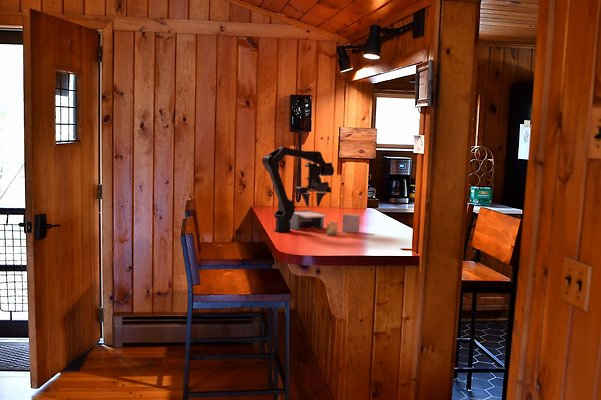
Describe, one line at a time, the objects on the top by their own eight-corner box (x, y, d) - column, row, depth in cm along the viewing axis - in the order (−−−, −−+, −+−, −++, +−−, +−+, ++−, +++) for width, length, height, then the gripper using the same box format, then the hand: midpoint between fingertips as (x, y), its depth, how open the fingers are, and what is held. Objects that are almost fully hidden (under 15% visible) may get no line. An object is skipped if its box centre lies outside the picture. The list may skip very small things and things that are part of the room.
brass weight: (330, 236, 320) (331, 223, 320) (324, 234, 324) (325, 222, 324) (339, 235, 323) (339, 223, 322) (333, 233, 327) (333, 221, 326)
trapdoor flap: (306, 225, 330) (306, 215, 329) (288, 221, 344) (288, 211, 344) (327, 224, 336) (327, 215, 336) (308, 220, 351) (309, 210, 350)
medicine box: (359, 232, 337) (359, 215, 336) (357, 233, 333) (358, 216, 332) (343, 230, 339) (344, 214, 338) (342, 232, 335) (342, 215, 334)
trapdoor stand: (297, 230, 334) (297, 214, 333) (282, 226, 347) (282, 211, 346) (323, 228, 342) (323, 213, 342) (307, 224, 355) (308, 210, 354)
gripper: (306, 177, 322) (305, 209, 324) (338, 177, 332) (337, 208, 334) (295, 175, 332) (293, 206, 333) (325, 175, 342) (324, 205, 343)
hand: (312, 206), depth 336 cm, fingers open, 6 cm apart
